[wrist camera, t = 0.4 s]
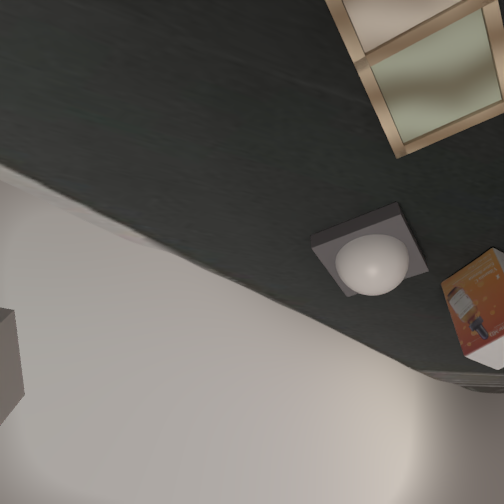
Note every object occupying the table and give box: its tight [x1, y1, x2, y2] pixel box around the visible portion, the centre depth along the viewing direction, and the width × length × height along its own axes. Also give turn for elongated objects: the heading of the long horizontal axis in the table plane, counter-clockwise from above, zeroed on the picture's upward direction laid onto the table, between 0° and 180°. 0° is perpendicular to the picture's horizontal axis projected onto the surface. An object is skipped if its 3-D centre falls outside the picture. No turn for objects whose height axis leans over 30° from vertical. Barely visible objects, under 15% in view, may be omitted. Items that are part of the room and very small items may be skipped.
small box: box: [441, 248, 504, 370], centre depth 50 cm, size 8×6×10 cm
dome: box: [311, 202, 429, 297], centre depth 50 cm, size 10×10×8 cm
